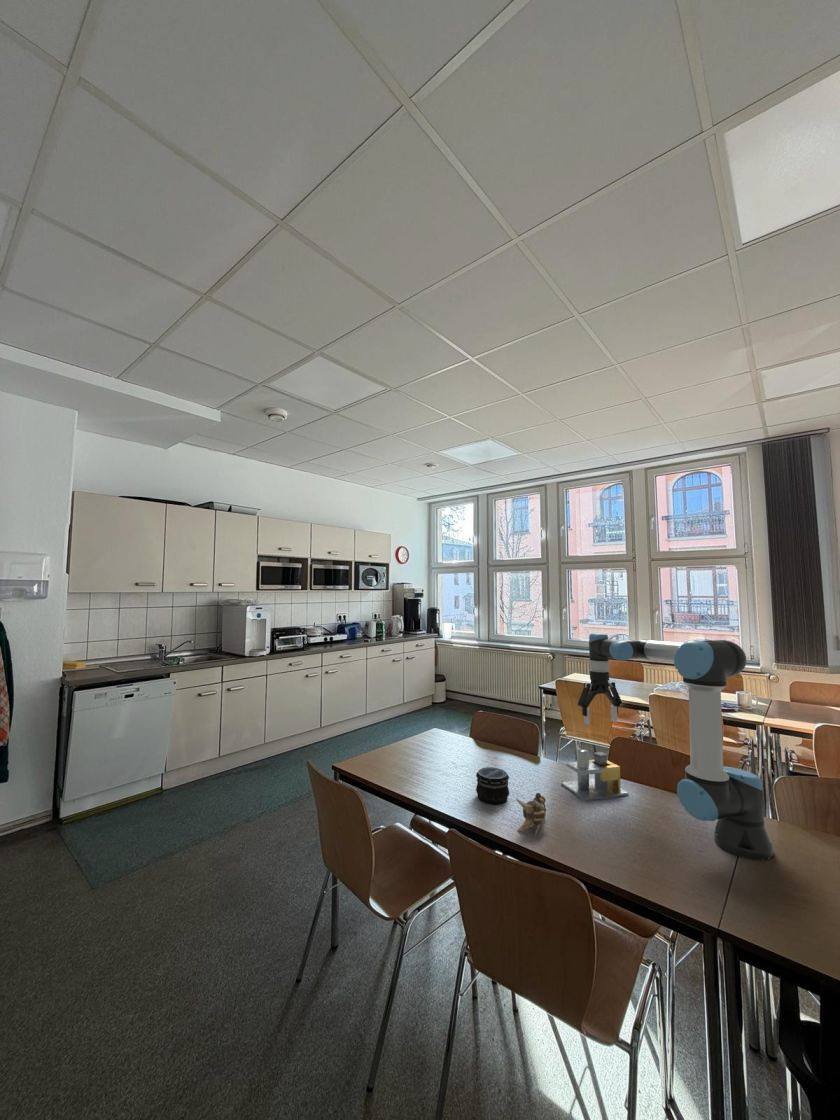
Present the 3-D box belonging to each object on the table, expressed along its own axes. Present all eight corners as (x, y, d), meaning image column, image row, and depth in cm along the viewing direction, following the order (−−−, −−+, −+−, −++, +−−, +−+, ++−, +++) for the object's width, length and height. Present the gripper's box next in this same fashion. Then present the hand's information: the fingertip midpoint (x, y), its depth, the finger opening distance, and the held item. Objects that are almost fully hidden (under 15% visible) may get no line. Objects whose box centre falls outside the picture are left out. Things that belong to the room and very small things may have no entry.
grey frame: (628, 795, 178) (627, 753, 180) (586, 801, 172) (585, 758, 174) (600, 779, 193) (600, 741, 195) (561, 784, 188) (560, 745, 189)
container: (506, 808, 165) (506, 780, 166) (472, 803, 170) (472, 776, 170) (511, 794, 177) (511, 768, 178) (479, 790, 182) (479, 764, 182)
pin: (608, 787, 183) (607, 754, 184) (600, 788, 182) (599, 755, 183) (601, 784, 186) (601, 751, 188) (594, 785, 185) (593, 752, 186)
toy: (556, 823, 156) (539, 838, 144) (534, 818, 161) (516, 832, 149) (554, 790, 158) (537, 802, 146) (532, 786, 163) (514, 797, 151)
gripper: (617, 668, 195) (619, 718, 193) (568, 670, 187) (569, 722, 185) (630, 670, 188) (632, 723, 186) (579, 673, 180) (580, 727, 178)
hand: (600, 722), depth 186 cm, fingers open, 13 cm apart
